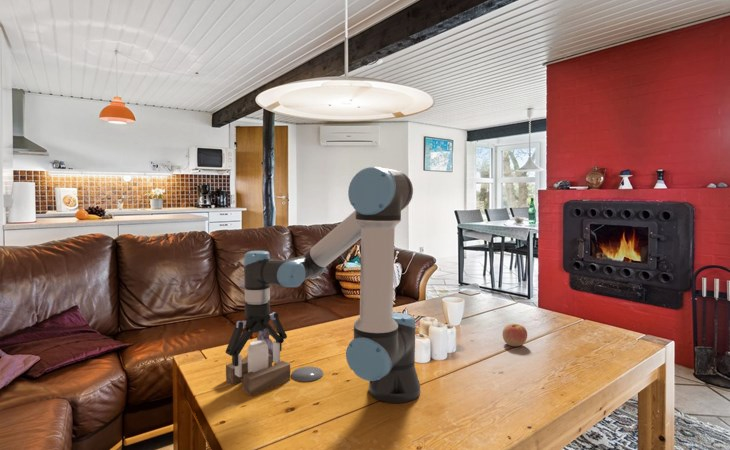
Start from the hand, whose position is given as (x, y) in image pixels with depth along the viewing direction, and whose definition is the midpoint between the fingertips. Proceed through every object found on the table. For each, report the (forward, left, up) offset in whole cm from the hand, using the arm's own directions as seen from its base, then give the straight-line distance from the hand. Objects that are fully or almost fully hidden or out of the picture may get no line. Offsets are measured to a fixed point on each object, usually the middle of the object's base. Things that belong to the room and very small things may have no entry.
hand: (258, 368), depth 125 cm
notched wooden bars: (0, 0, -4) cm, 4 cm away
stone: (+15, -12, -4) cm, 19 cm away
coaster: (-8, -13, -4) cm, 16 cm away
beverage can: (0, 0, -4) cm, 4 cm away
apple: (-46, -85, -4) cm, 97 cm away
